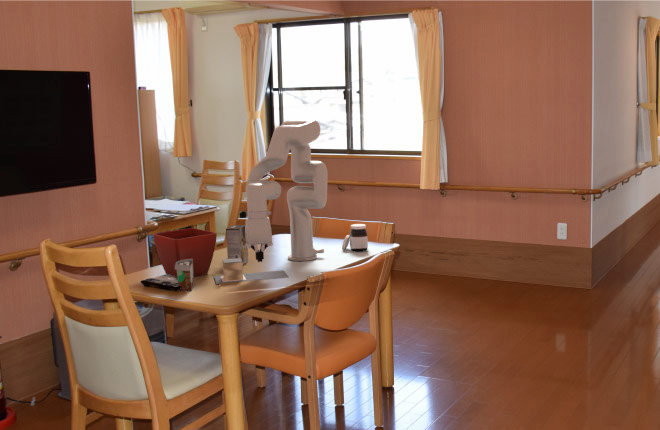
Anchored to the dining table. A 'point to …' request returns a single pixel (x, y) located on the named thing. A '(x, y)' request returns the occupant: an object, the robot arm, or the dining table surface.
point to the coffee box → (236, 243)
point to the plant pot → (185, 249)
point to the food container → (185, 274)
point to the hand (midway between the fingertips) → (259, 261)
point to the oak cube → (232, 269)
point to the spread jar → (356, 238)
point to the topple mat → (254, 276)
